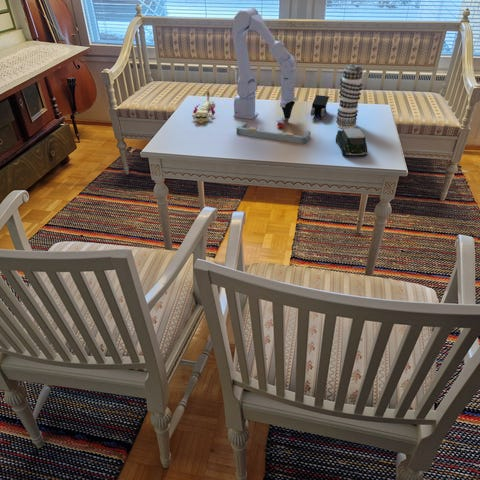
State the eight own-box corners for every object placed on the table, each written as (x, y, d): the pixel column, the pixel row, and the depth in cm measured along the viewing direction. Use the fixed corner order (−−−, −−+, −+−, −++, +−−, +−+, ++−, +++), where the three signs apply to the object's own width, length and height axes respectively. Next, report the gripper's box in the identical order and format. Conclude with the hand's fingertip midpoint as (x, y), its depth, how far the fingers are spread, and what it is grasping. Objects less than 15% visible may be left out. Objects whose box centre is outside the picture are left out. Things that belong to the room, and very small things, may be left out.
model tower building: (331, 123, 188) (338, 64, 173) (349, 120, 190) (357, 62, 175) (341, 130, 181) (349, 69, 166) (360, 127, 183) (369, 67, 168)
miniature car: (356, 139, 173) (359, 120, 168) (367, 158, 158) (371, 138, 154) (334, 140, 173) (336, 121, 168) (344, 159, 158) (346, 139, 154)
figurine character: (324, 124, 190) (328, 110, 201) (325, 108, 185) (330, 94, 196) (309, 123, 192) (314, 108, 202) (310, 107, 187) (315, 93, 197)
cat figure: (199, 108, 210) (189, 123, 189) (198, 90, 205) (188, 103, 184) (219, 109, 209) (211, 123, 188) (218, 90, 205) (211, 103, 183)
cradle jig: (236, 133, 180) (236, 126, 178) (243, 127, 185) (243, 120, 183) (304, 144, 170) (305, 136, 168) (310, 136, 175) (310, 129, 174)
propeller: (269, 127, 173) (272, 117, 171) (281, 123, 195) (283, 114, 194) (278, 131, 172) (281, 121, 171) (289, 126, 195) (292, 117, 193)
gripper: (291, 92, 174) (290, 124, 182) (301, 83, 185) (300, 113, 193) (275, 91, 177) (275, 123, 184) (286, 82, 187) (285, 112, 195)
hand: (287, 118), depth 189 cm, fingers closed, pressing on propeller
